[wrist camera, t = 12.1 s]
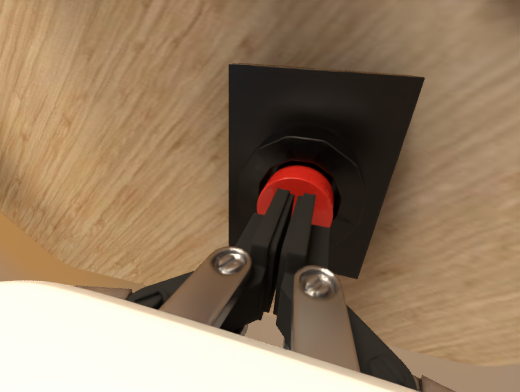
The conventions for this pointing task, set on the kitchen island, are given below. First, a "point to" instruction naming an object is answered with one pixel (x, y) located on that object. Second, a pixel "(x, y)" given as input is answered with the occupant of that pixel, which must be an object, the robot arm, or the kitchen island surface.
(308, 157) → the red push button box
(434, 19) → the kitchen island surface
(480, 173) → the kitchen island surface
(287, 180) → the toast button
